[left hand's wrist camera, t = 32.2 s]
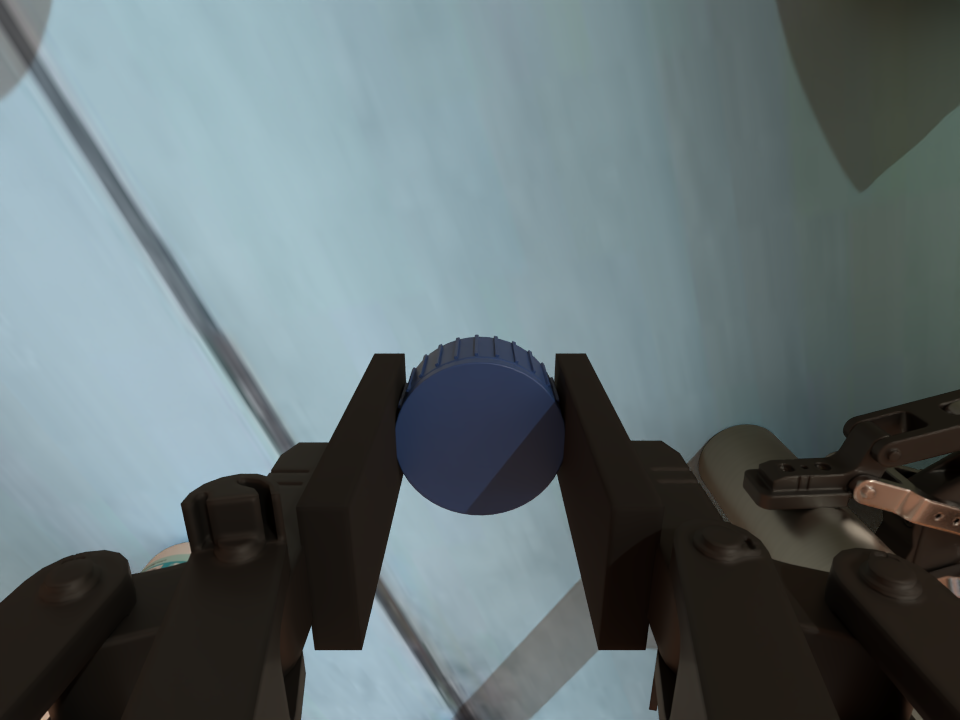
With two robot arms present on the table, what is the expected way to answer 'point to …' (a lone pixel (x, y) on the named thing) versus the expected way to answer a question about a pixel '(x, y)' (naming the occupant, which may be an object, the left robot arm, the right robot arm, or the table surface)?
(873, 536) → the bottle
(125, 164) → the table surface
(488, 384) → the cap
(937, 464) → the right robot arm
